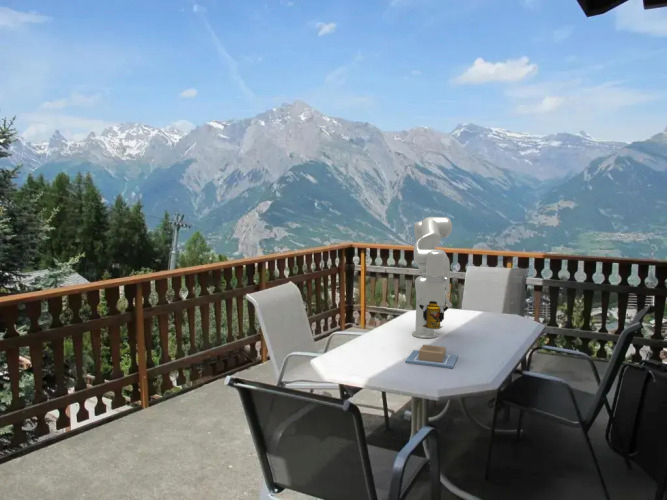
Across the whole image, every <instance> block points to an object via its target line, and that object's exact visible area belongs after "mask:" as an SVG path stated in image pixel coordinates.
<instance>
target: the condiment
mask: <svg viewBox="0 0 667 500" xmlns="http://www.w3.org/2000/svg"><path fill="white" fill-rule="evenodd" d="M440 313H441V310H440V307H439V306H438V305H437V302H434V301H430V302H429V305H428V306H427V316H426V324H424V325H423V326H421V328H428V329H434V331H435V330H437V331H438V330H440V329H442V328H443V327H444V326H441V322H440Z"/></svg>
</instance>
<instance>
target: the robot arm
mask: <svg viewBox="0 0 667 500" xmlns="http://www.w3.org/2000/svg"><path fill="white" fill-rule="evenodd" d="M413 231H414V236H415V238H416V242H415V244H414V246H413V260H414V263H415V265H417V267H418V270H419V272H421V273H425V275H424V274H423V275H420V276H417V277H416V278H415V280H414V288H415V297H416V298H415V331H412V333H411V334H412V336H413V337H415V338H420V339H434V338H436V337H437V335H438V334H437V333H436V332H435V330H434V329H428V328H421V326H423V325H424V324H426V316H427V306H428V305H429V302H430V301H434V302H437V305H438V306H439V307H440V310H441V313H440V323H442V322H443V321H444V319H445V312H446V311H447V310H449V309H450V308H451V307H452V306H453V304H452V302H451V301H450V300H449V299H448V298H447V294H448V293H449V292H450V267H451V265H450V264H451V262H450V258H449V257H448V255H447V253H446V252H445V250H443V249H436V247H437V246H438V245H439V244H440V243H441V240H442V239H446V238H448V237H449V236H450V235H451V233H452V231H453V224H452V221H451V219H450V218H449V217H447V216H428V217H424V218H423V219H422V220H420V221H416V222H415V224H414V227H413ZM446 304H447V305H446ZM445 305H446V306H445ZM444 306H445V307H444Z"/></svg>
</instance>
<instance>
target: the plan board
mask: <svg viewBox="0 0 667 500" xmlns="http://www.w3.org/2000/svg"><path fill="white" fill-rule="evenodd" d="M446 351H447V347H446V346H441V345H440V346H439V345H432V344H431V345H430V344H423V345H422V346H421V347H420V349H419V350H416V349H413V350H412V352H411V353H410V354H409V355H408V357H407V358H406V359H405V361H404V363H405V364H410V365H418V366H426V367H427V366H428V367H434V368H443V369H450V368H452V369H454V367H455V365H456V363H457V360H458V358H459V354H452V353H446ZM455 362H456V363H455ZM452 369H451V370H452Z"/></svg>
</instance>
